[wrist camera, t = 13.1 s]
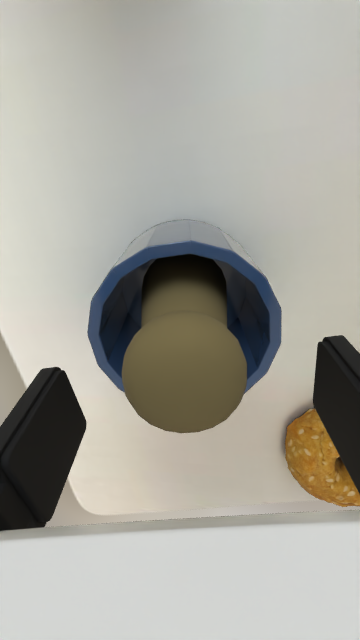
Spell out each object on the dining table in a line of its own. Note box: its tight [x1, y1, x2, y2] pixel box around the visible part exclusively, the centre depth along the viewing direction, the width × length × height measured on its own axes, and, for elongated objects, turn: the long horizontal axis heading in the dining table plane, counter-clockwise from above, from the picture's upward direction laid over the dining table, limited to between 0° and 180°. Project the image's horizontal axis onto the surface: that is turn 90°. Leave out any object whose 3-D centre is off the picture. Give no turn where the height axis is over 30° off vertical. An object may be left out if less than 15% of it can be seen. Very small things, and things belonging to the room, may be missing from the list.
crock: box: [87, 220, 281, 394], centre depth 18 cm, size 10×10×7 cm
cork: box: [122, 254, 247, 433], centre depth 16 cm, size 6×6×11 cm
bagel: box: [285, 409, 360, 507], centre depth 25 cm, size 10×11×5 cm
